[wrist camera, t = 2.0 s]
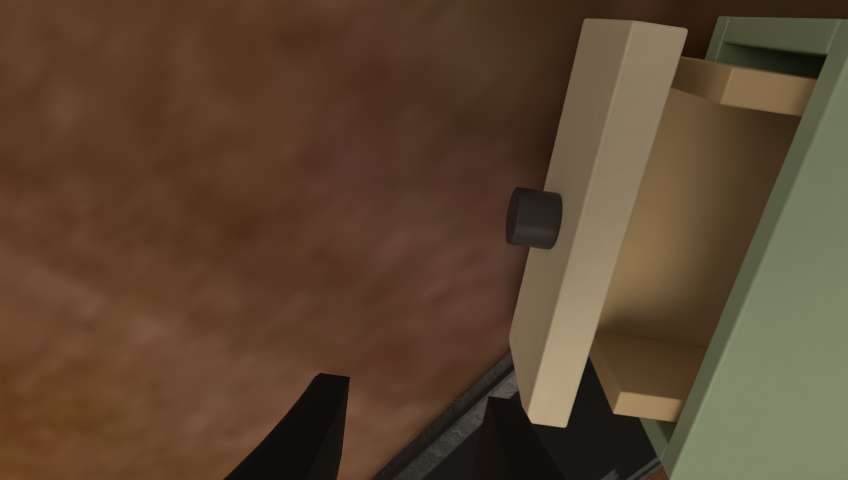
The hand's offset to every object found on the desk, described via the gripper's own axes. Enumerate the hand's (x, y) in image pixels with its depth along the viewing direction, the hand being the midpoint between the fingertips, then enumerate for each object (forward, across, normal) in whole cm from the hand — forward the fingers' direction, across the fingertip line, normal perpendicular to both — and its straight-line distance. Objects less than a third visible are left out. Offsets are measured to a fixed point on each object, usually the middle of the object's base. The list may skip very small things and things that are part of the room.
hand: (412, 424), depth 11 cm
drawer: (+8, -8, -3) cm, 12 cm away
